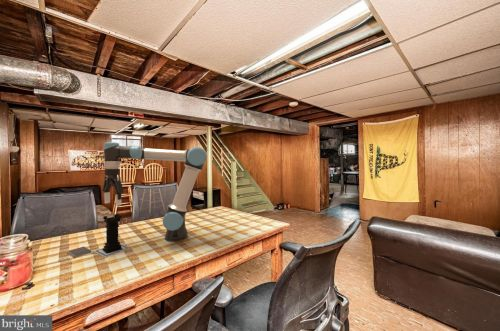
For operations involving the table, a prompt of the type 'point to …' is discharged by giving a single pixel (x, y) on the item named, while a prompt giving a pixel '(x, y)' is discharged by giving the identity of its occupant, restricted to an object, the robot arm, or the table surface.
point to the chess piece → (112, 234)
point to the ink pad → (79, 252)
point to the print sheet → (111, 252)
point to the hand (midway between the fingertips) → (112, 204)
